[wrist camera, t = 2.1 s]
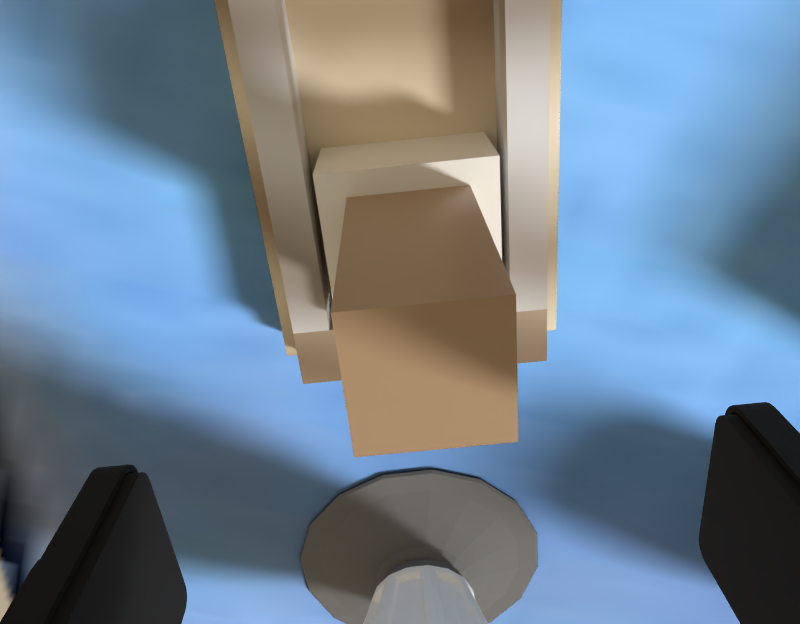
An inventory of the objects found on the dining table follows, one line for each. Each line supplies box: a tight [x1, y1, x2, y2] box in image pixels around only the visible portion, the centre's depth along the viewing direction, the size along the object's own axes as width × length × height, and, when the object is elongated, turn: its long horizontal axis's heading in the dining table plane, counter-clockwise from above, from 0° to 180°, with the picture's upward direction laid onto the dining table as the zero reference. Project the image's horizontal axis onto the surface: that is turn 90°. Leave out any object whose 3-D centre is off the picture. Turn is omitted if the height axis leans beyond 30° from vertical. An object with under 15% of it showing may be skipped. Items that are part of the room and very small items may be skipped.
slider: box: [313, 132, 518, 457], centre depth 18 cm, size 5×5×10 cm
